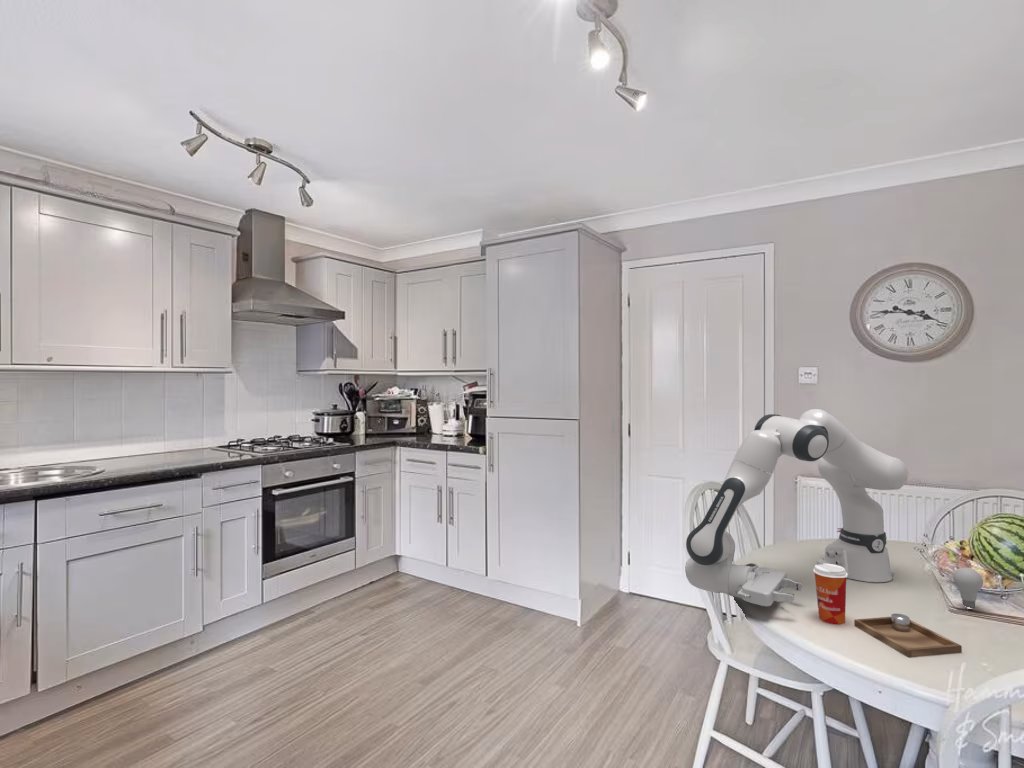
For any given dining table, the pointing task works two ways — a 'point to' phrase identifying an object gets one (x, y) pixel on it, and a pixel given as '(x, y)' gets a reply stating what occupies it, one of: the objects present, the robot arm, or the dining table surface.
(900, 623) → the part
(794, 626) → the dining table surface
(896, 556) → the dining table surface
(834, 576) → the paper cup
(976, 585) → the lightbulb
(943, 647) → the tray
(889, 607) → the dining table surface
